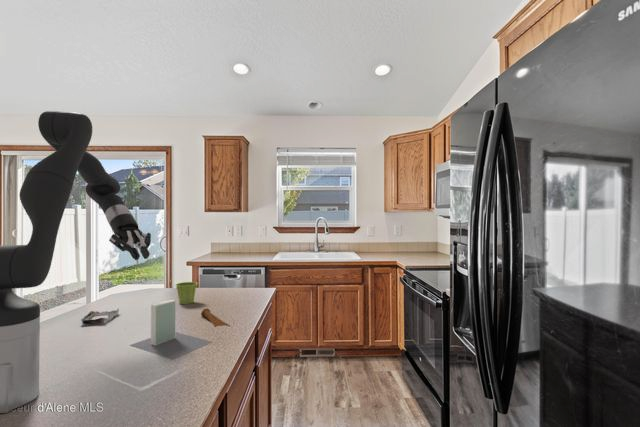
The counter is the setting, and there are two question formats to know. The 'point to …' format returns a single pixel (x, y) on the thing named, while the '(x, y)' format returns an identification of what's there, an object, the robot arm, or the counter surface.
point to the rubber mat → (173, 346)
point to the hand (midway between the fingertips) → (142, 257)
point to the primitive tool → (213, 318)
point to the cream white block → (163, 321)
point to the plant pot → (186, 292)
